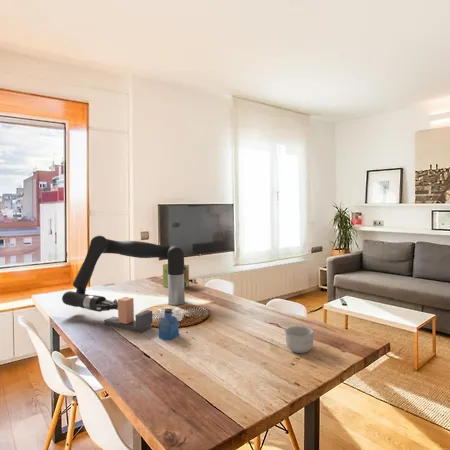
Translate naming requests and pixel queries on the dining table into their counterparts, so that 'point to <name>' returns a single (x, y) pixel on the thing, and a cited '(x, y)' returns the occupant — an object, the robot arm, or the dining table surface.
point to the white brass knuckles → (173, 312)
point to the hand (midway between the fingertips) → (120, 307)
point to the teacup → (299, 338)
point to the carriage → (125, 310)
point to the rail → (133, 322)
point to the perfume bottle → (168, 326)
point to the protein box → (186, 275)
